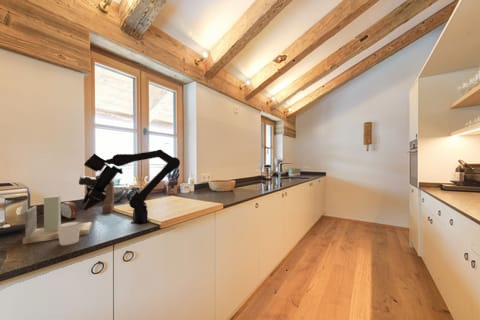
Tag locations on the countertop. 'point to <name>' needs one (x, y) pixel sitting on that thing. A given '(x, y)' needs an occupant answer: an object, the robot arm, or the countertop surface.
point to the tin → (68, 209)
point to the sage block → (52, 213)
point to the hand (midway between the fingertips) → (83, 206)
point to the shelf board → (39, 234)
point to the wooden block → (109, 199)
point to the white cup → (69, 233)
